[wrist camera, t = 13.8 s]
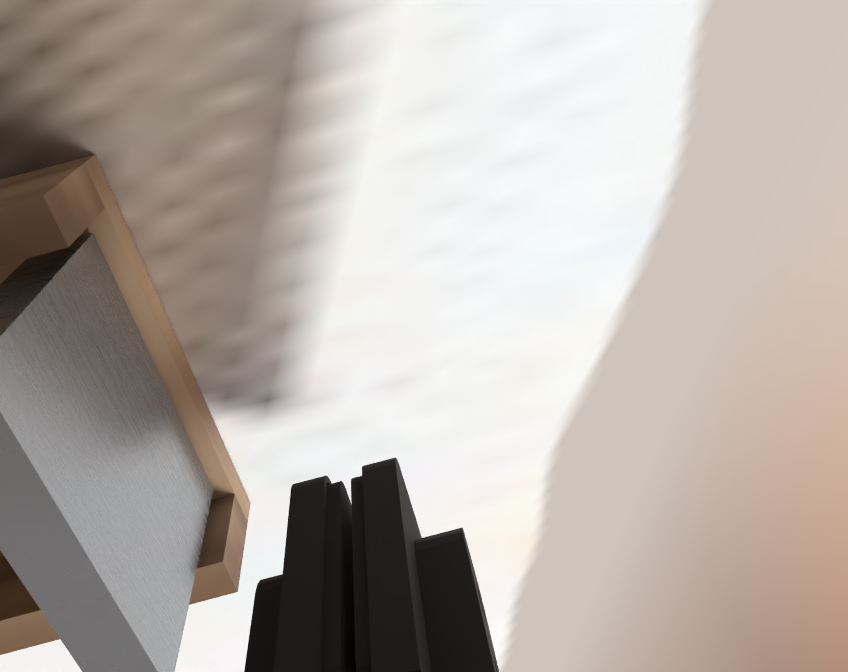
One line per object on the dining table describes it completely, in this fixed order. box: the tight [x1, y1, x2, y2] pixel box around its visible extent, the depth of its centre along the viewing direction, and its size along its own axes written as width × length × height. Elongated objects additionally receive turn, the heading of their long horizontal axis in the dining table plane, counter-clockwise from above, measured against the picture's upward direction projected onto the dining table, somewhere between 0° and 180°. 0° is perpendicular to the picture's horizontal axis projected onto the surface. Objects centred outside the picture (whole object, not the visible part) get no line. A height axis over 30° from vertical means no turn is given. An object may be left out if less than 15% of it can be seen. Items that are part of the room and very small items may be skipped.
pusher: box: [0, 233, 214, 672], centre depth 15 cm, size 7×1×6 cm, turn 13°
